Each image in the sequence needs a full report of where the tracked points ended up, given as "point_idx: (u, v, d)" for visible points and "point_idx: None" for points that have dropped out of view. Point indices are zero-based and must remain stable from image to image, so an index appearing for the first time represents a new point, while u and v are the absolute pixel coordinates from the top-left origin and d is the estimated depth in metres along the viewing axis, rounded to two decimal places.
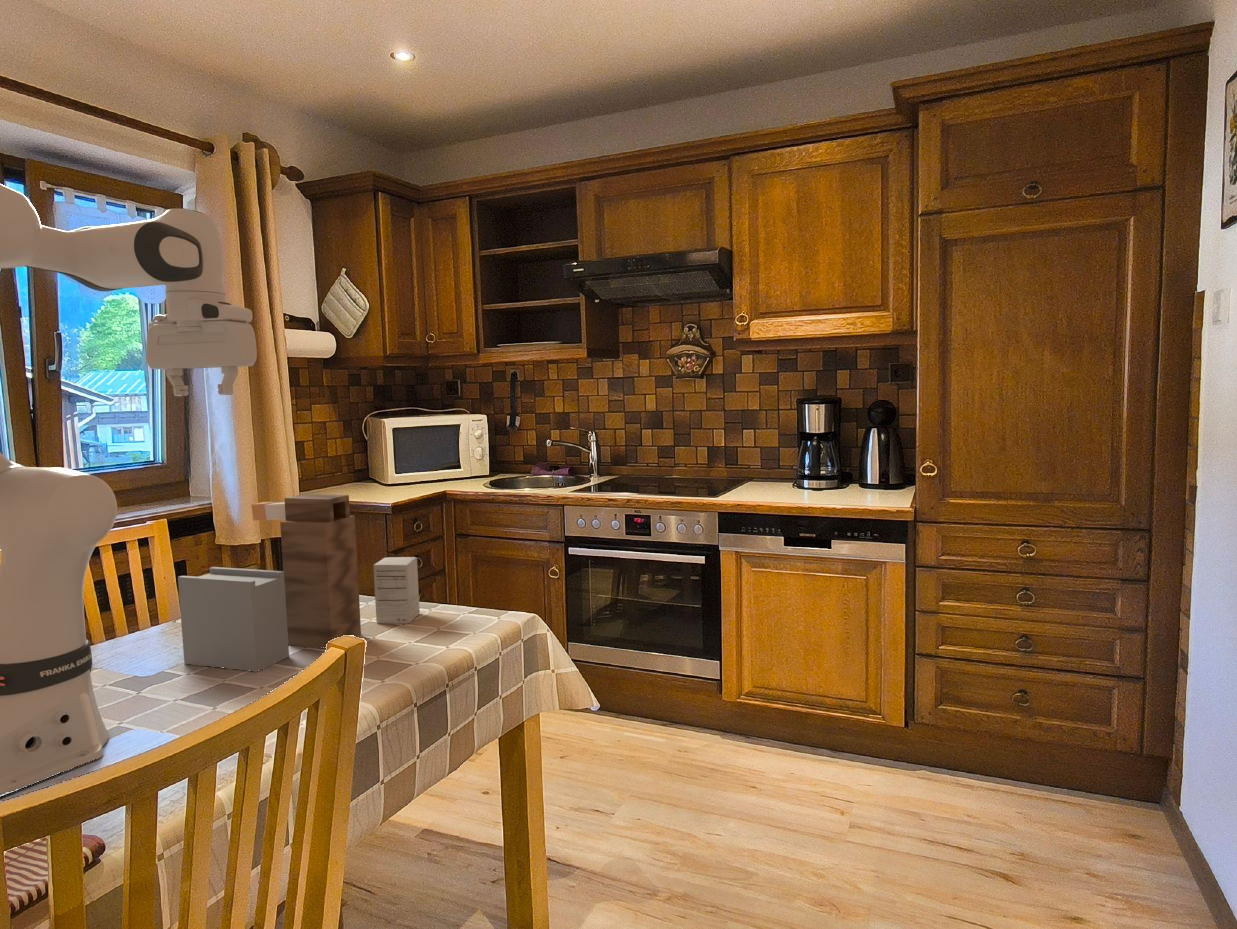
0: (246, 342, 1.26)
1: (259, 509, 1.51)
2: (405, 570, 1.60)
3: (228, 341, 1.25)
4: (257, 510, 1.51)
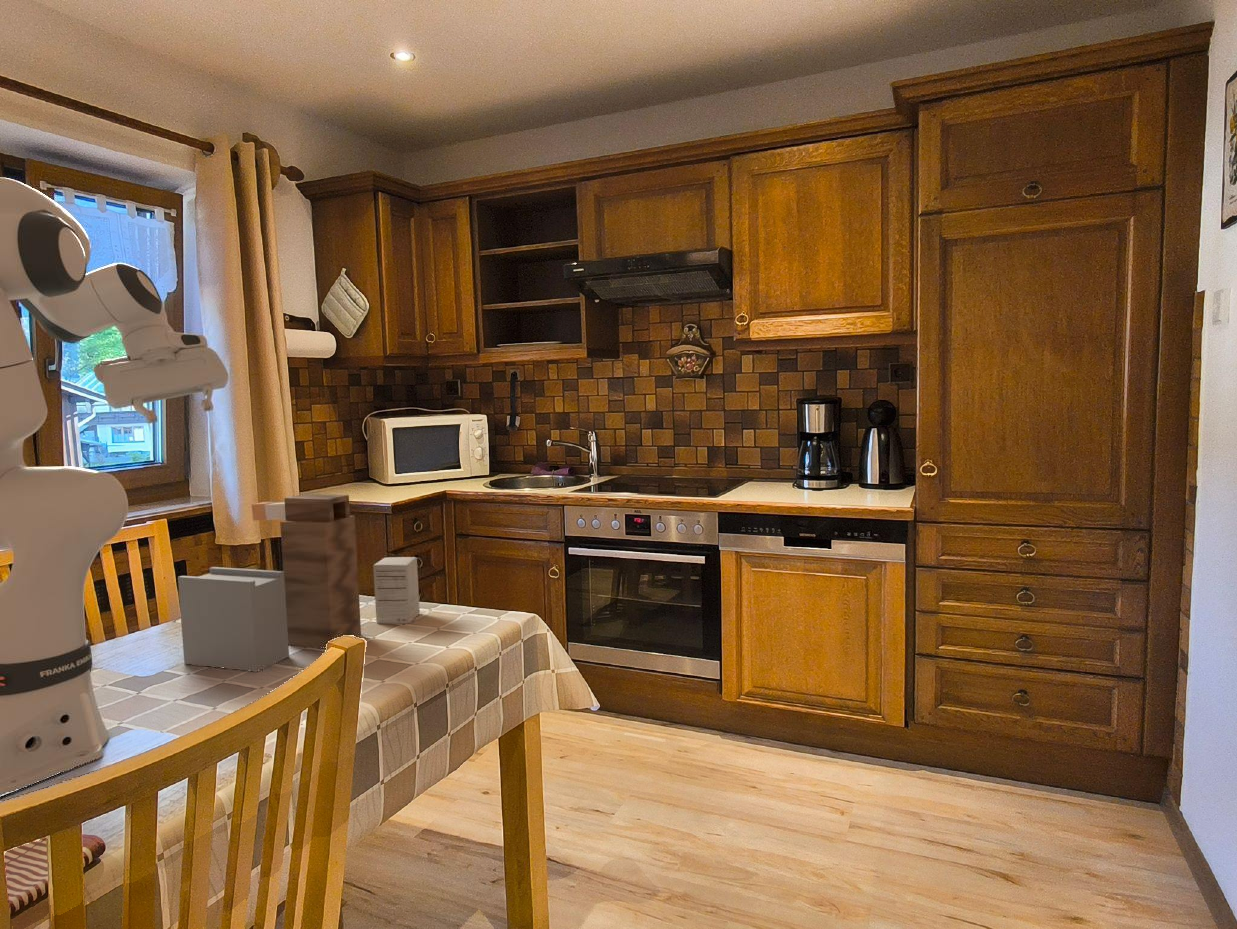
0: None
1: (259, 509, 1.51)
2: (405, 570, 1.60)
3: (210, 362, 1.47)
4: (257, 510, 1.51)
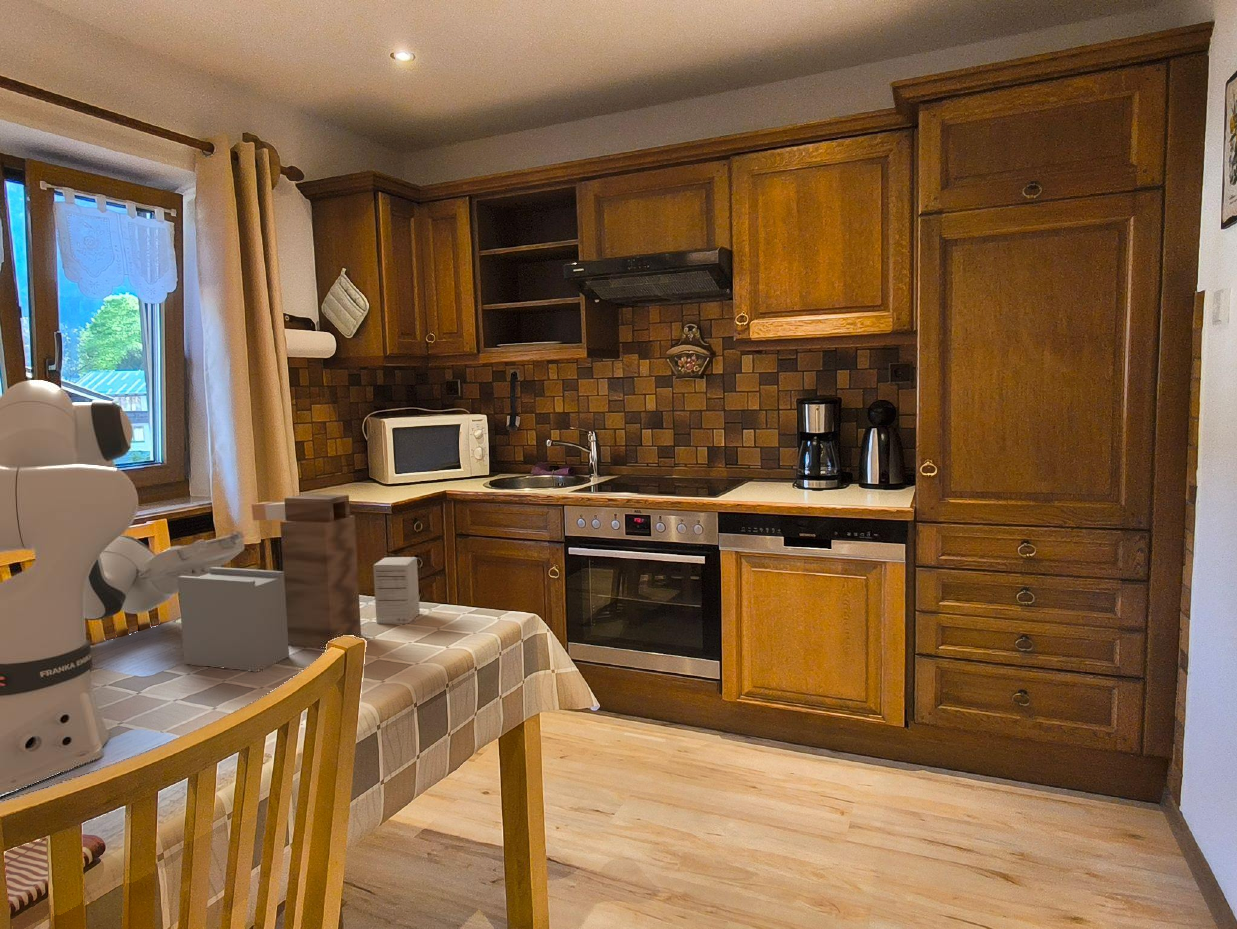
0: None
1: (259, 509, 1.51)
2: (405, 570, 1.60)
3: None
4: (257, 510, 1.51)
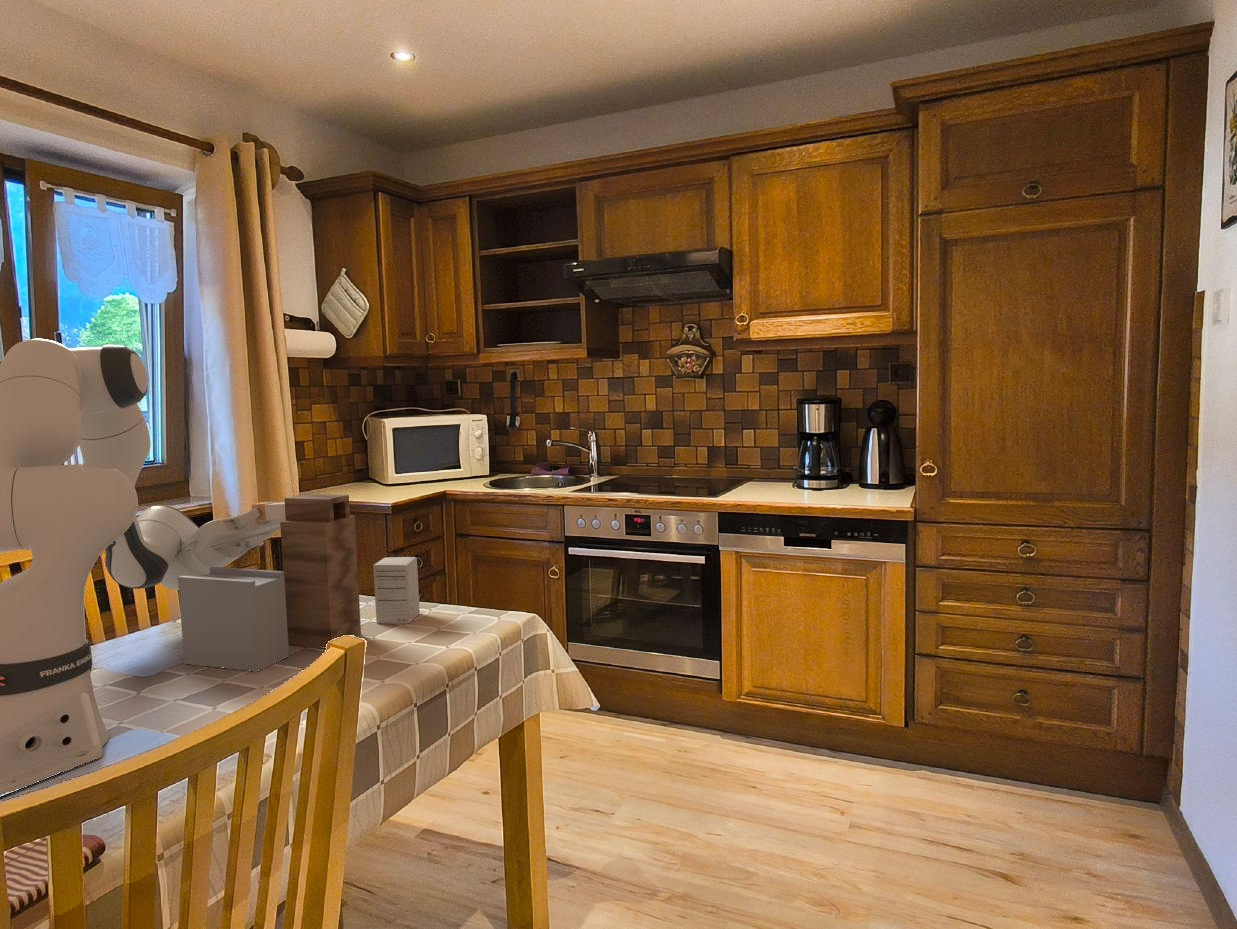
0: None
1: None
2: (405, 570, 1.60)
3: None
4: None
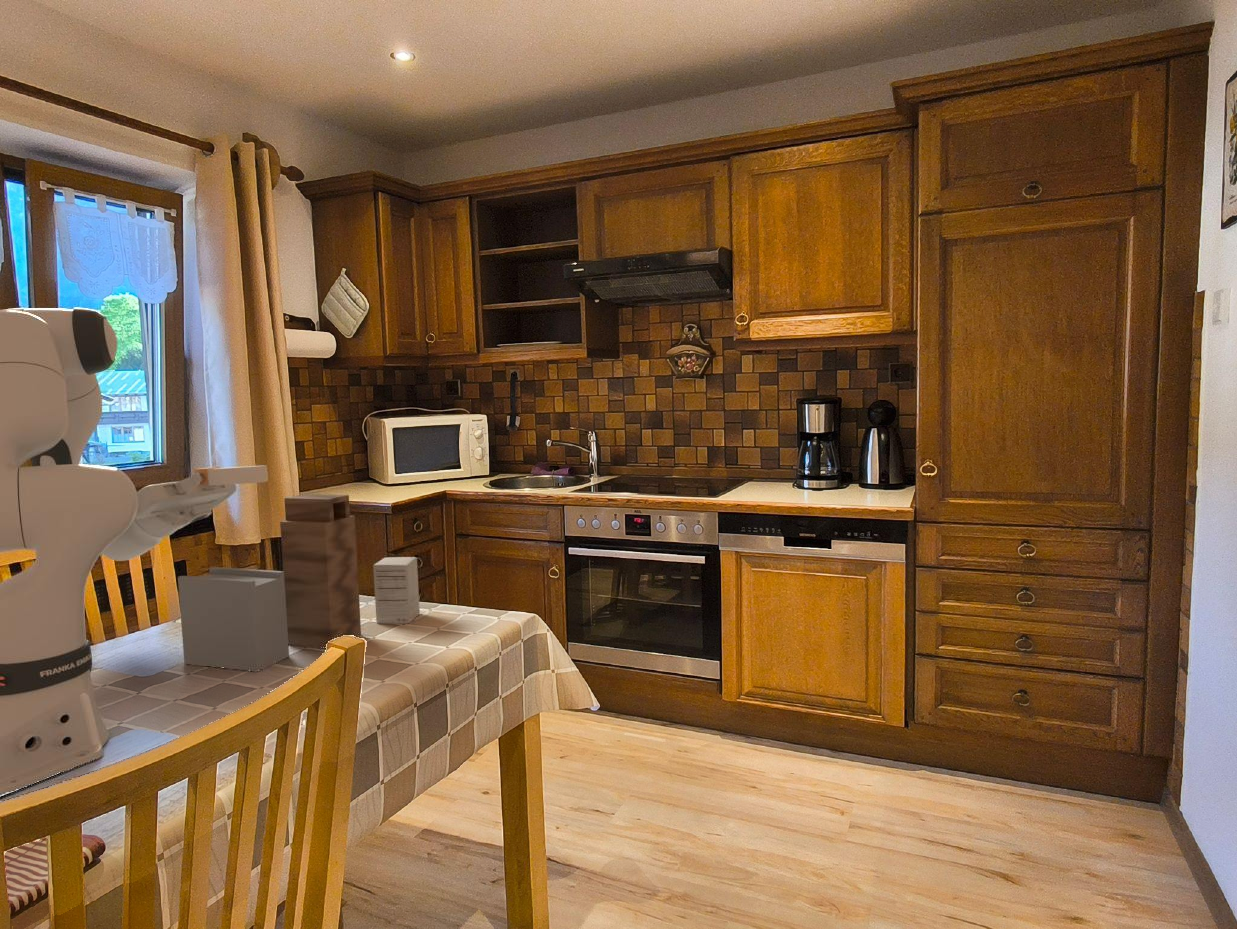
0: None
1: None
2: (405, 570, 1.60)
3: None
4: None
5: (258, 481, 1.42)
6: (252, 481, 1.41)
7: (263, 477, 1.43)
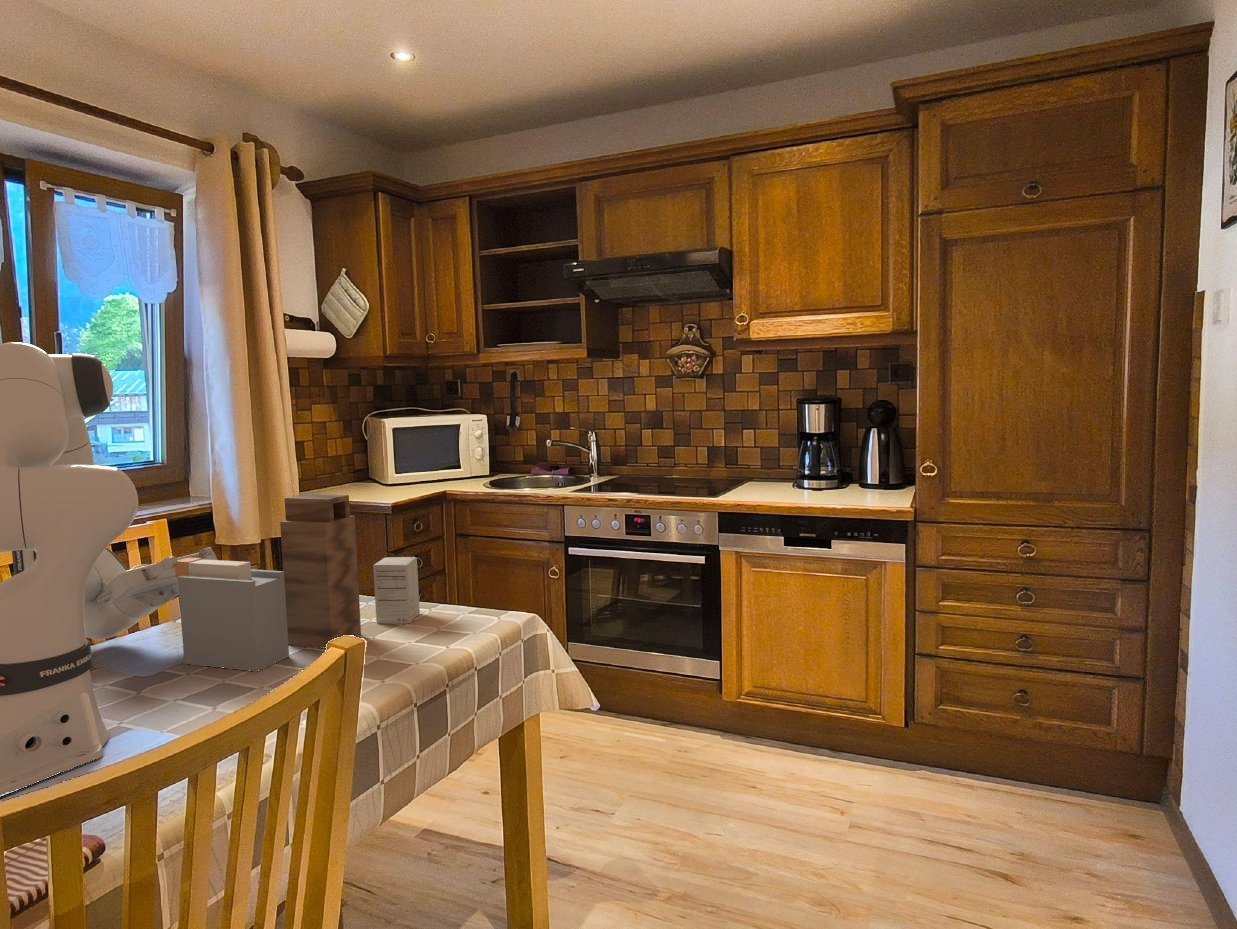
0: None
1: (182, 567, 1.40)
2: (405, 570, 1.60)
3: None
4: (180, 568, 1.40)
5: None
6: None
7: (246, 575, 1.38)
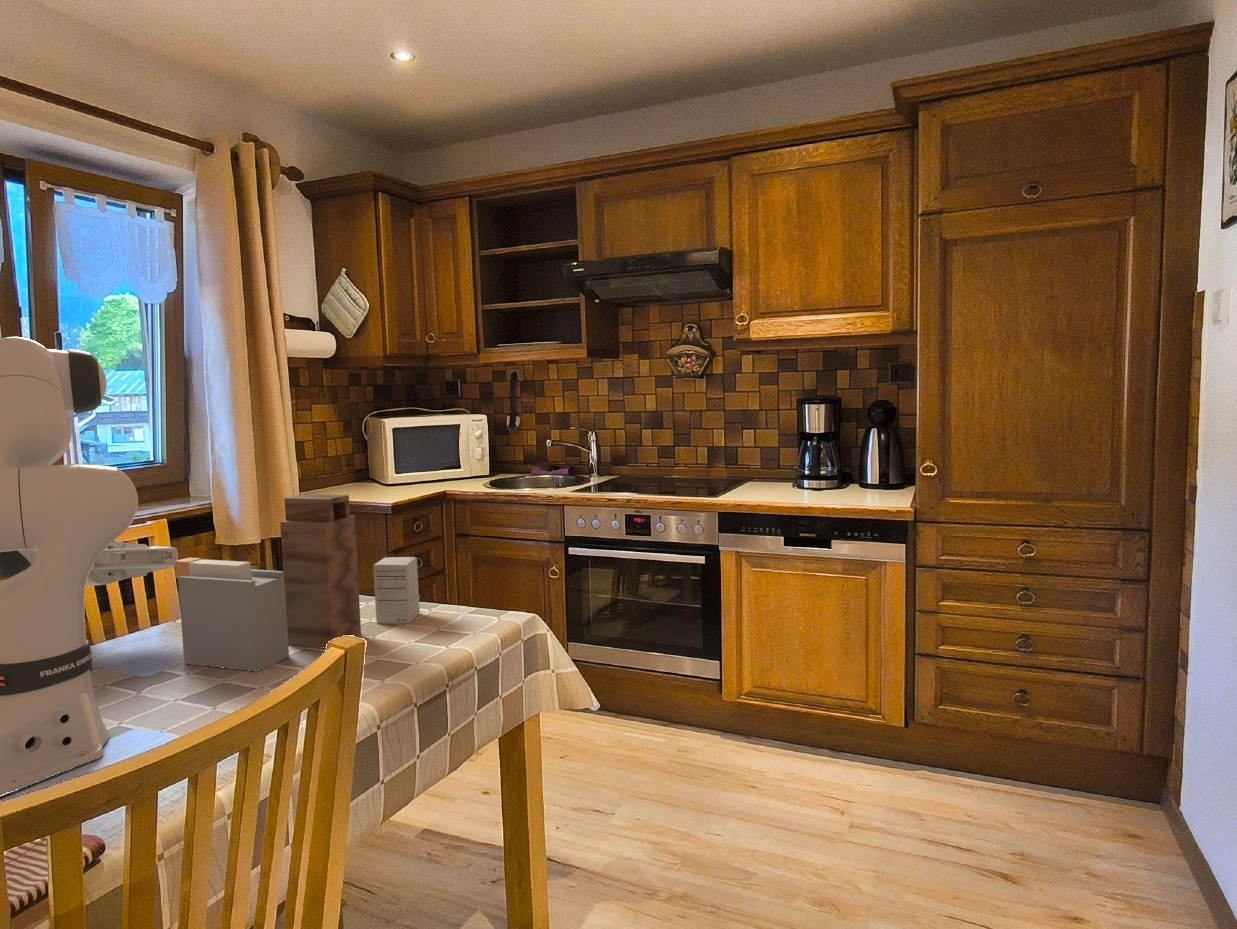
0: None
1: (182, 567, 1.40)
2: (405, 570, 1.60)
3: None
4: (180, 568, 1.40)
5: None
6: None
7: (246, 575, 1.38)
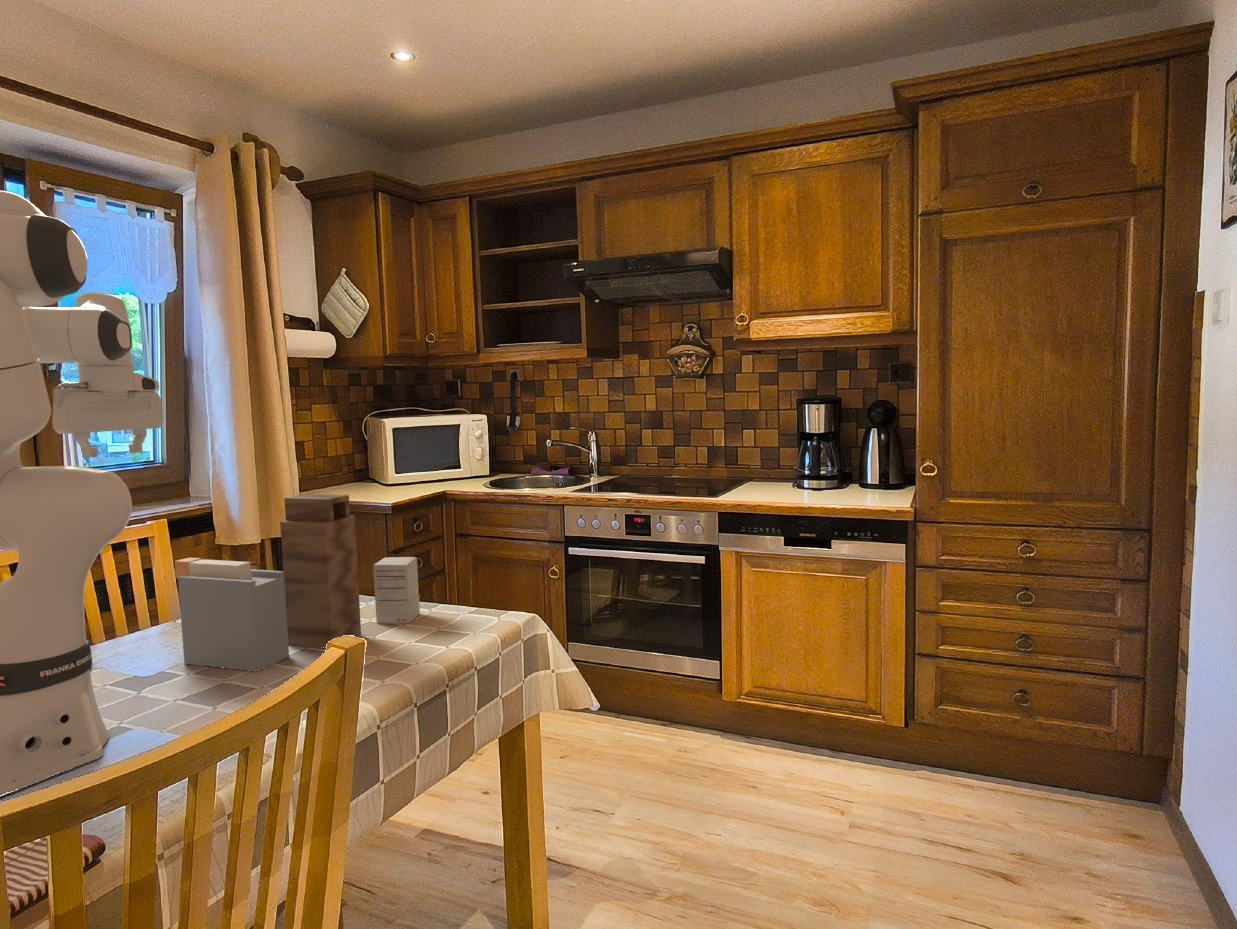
0: None
1: (182, 567, 1.40)
2: (405, 570, 1.60)
3: (153, 408, 1.53)
4: (180, 568, 1.40)
5: None
6: None
7: (246, 575, 1.38)
